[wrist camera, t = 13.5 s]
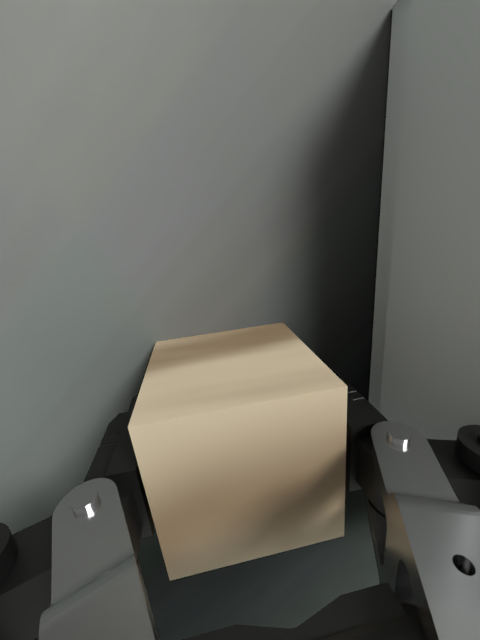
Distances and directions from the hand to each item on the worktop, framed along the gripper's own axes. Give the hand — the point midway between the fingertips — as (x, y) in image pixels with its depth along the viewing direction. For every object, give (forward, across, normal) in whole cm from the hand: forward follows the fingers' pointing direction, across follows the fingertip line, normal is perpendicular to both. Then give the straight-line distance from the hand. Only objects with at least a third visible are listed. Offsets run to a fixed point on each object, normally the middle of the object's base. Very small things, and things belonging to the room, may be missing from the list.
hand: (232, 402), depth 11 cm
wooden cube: (+1, 0, 0) cm, 1 cm away
